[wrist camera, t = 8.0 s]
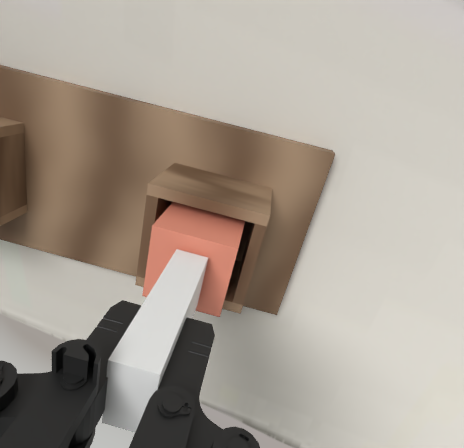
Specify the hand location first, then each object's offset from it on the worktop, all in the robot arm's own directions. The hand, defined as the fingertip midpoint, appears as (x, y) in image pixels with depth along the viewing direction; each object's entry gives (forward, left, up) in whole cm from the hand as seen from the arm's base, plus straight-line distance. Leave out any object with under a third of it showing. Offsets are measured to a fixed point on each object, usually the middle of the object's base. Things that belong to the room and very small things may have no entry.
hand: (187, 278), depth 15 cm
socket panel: (-6, -6, -8) cm, 11 cm away
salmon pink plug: (0, 0, -5) cm, 5 cm away
